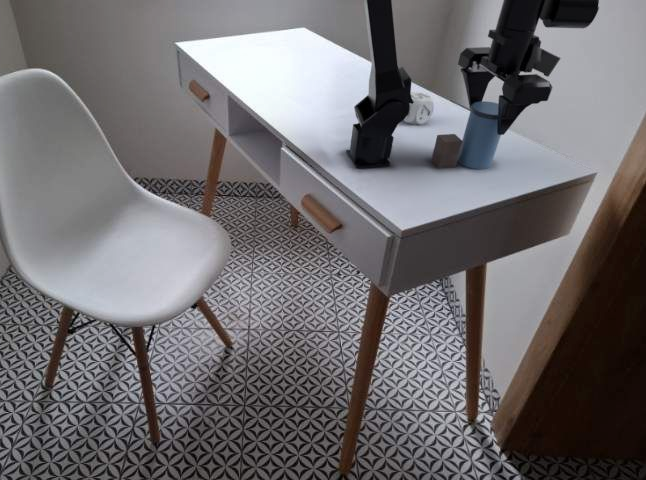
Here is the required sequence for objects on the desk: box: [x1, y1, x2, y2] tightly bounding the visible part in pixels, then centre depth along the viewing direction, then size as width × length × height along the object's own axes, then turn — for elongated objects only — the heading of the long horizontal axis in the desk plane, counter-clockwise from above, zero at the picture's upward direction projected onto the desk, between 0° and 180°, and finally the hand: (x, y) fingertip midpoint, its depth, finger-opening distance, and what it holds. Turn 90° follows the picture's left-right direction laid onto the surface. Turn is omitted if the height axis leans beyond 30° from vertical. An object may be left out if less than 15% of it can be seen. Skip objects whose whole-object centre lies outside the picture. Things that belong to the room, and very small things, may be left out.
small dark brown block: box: [431, 133, 463, 169], centre depth 91 cm, size 3×3×5 cm
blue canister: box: [457, 100, 502, 170], centre depth 91 cm, size 11×6×11 cm
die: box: [402, 91, 435, 126], centre depth 107 cm, size 5×5×5 cm
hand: (486, 123), depth 90 cm, fingers open, 9 cm apart
